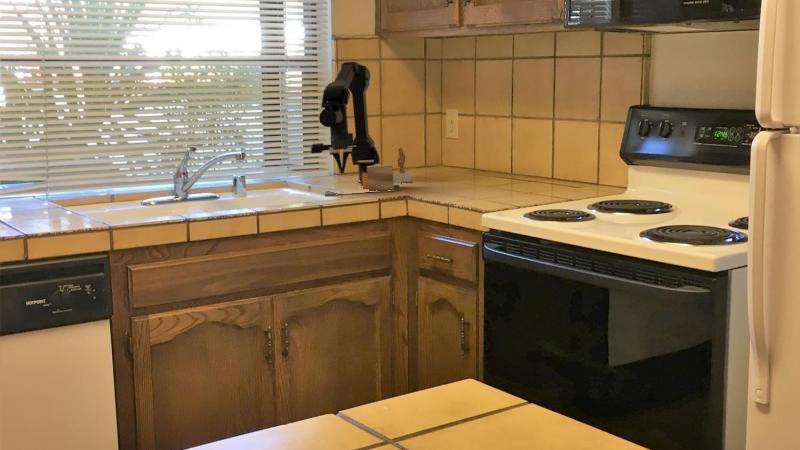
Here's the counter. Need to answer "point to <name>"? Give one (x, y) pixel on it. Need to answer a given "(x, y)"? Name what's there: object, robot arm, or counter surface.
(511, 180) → the counter surface
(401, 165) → the brown figurine
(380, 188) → the hitch block
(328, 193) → the mat
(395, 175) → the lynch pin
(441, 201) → the counter surface
